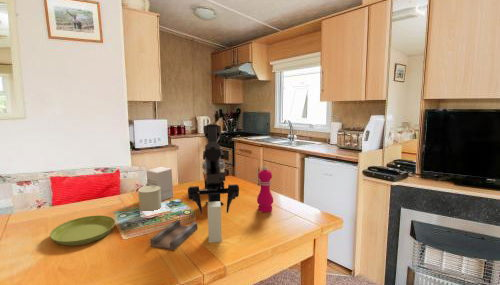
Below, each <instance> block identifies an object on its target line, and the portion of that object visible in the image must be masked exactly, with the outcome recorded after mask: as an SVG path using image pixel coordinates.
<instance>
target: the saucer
mask: <svg viewBox="0 0 500 285" xmlns="http://www.w3.org/2000/svg"><path fill="white" fill-rule="evenodd" d="M115 225H116V220H115V219H114V217H111V216H108V215H99V214H98V215H88V216H83V217H78V218H75V219H71V220H68V221H66V222H63V223H62V224H59V225H58V226H56V227H54V228H53V229H52V230H51V232H50V233H49V238H51V240H53V241H54V242H56V243H58V244H60V245H63V246H68V247H70V246H71V247H72V246H73V247H74V246H83V245H86V244H91V243H93V242H95V241H98V240H101V239H102V238H104V237H106V236H107V235H108V234H109V233H111V231H112V230H113V228H114V227H115Z"/></svg>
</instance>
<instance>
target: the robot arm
mask: <svg viewBox="0 0 500 285" xmlns="http://www.w3.org/2000/svg"><path fill="white" fill-rule="evenodd" d="M204 135H205V137H204V138H205V140H206V142H207V144H206V145H205V146H204V150H203V152H202V159H203V160H204V161H205V163H206V181H204V189H200V186H199V185H196V186H193V185H192V186H189V187H188V188H187V195H188V200H191V201H192V202H195V203H196V205H197V207H198V211H199V213H200V215H203V208H202V202H201V201H202V200H201V196H203V195H207V198H208V201H205V204H206V205H207V206H208V202H215V201H220V202H221V206H223V205H224V202H222V201H221V195H222V194H223V195H224V194H227V197H226V198H227V200H226V214H228V213H229V210H230V206H231V204H232V201H233V200H235V199H236V198H238V197H240V196H239V195H240V186H239V184H238V183H237V184H235V183H234V184H233V183H232V184H228V185H227V187H225V182H226V171H225V172H221V170H220V161H221V160H223V158H225V154H224V152H223V150H221V145H220V144H219V143H218V142H219V141H220V138H221V136H220V135H222V126H221V125H218V124H217V123H207V124H206V125H204V126H203V136H204Z"/></svg>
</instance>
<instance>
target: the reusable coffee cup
mask: <svg viewBox="0 0 500 285" xmlns="http://www.w3.org/2000/svg"><path fill="white" fill-rule="evenodd" d="M220 160H221V161H220V170H221V172H225V173H226V171H225V169H226V163H225V161H224V160H223V159H220ZM202 170H203V172H202V176H203V182H205V181H206V163H205V160H204V161H203V162H202Z"/></svg>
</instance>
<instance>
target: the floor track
mask: <svg viewBox="0 0 500 285" xmlns="http://www.w3.org/2000/svg"><path fill="white" fill-rule="evenodd" d="M198 228H199V227H198V222H197V221H196V222H195V221H193V222H192V223H191V224H189V225H183V224H181V220H180V219H175V220H174V221H173V222H171V223H170V224H169V225H167V226H166V227H165V228H163V229H162V230H161V231H159V232H158V233H157V234H156V235H154V236H153V237H151V238H150V241H149V242H150V247H152V248H158V249H163V250H168V251H175V250H177V249H178V248H179V247H180V246H181V245H182V244H183V243H184V242H186V240H187V239H188V238H189V237H191V236H192V235H194V233H195V232H196V231H197V230H198Z"/></svg>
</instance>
